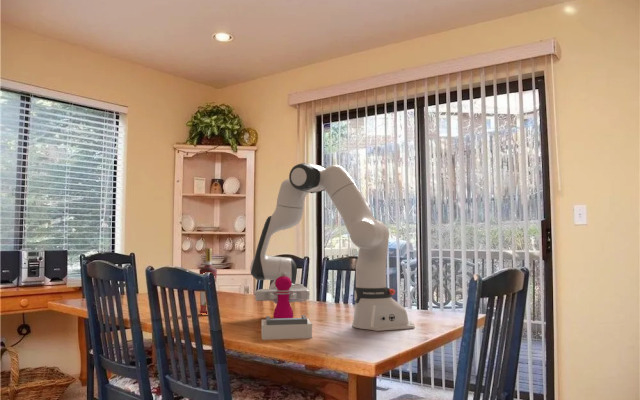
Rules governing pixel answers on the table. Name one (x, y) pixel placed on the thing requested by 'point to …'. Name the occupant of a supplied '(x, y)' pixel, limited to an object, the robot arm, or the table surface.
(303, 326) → the dock
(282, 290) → the pepper mill
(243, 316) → the table surface
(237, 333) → the table surface
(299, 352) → the table surface
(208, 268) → the liquor
